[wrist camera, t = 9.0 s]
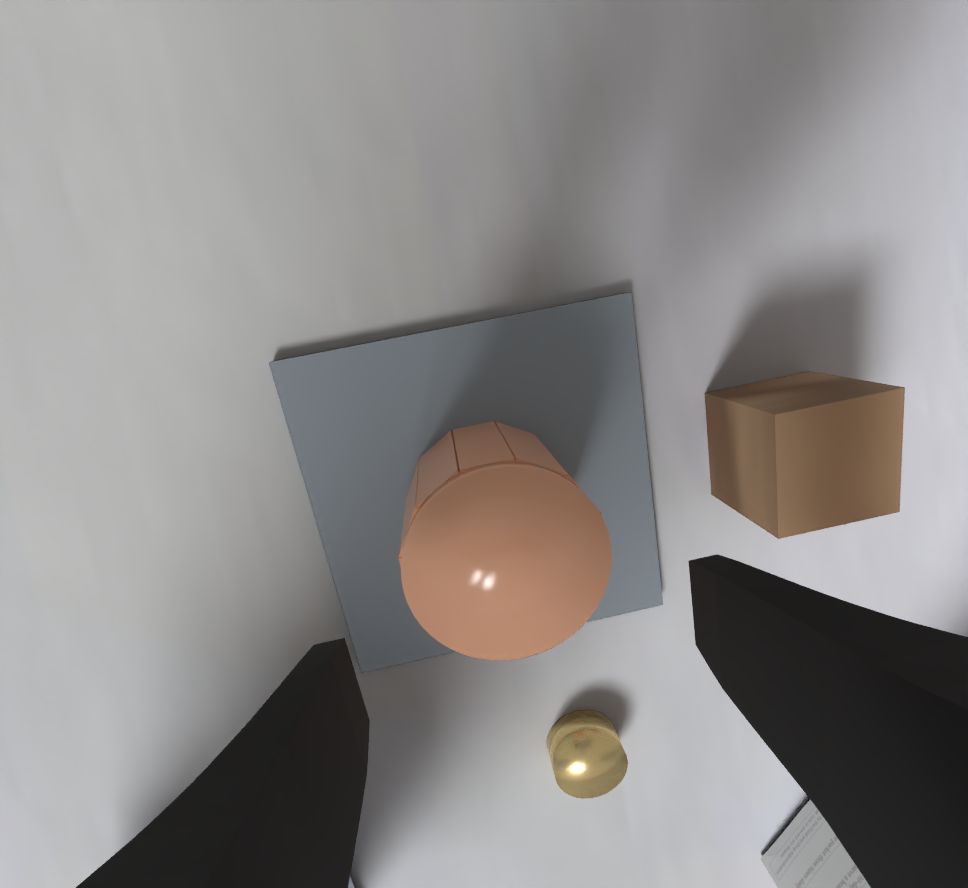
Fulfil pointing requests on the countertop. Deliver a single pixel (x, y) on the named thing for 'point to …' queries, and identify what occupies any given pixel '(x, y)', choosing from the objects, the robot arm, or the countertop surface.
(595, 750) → the brass token
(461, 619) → the peach faceted cylinder
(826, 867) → the supplement box
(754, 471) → the walnut block
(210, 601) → the countertop surface
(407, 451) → the slate mat
